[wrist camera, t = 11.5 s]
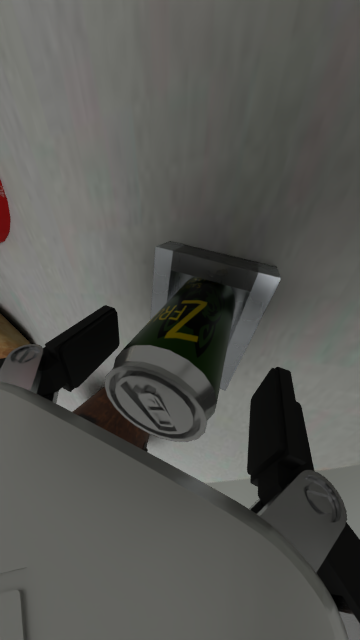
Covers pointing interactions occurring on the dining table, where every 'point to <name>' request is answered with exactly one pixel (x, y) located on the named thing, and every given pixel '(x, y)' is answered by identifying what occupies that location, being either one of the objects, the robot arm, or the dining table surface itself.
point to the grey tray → (241, 275)
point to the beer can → (176, 363)
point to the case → (111, 419)
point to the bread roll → (9, 337)
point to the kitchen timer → (4, 215)
